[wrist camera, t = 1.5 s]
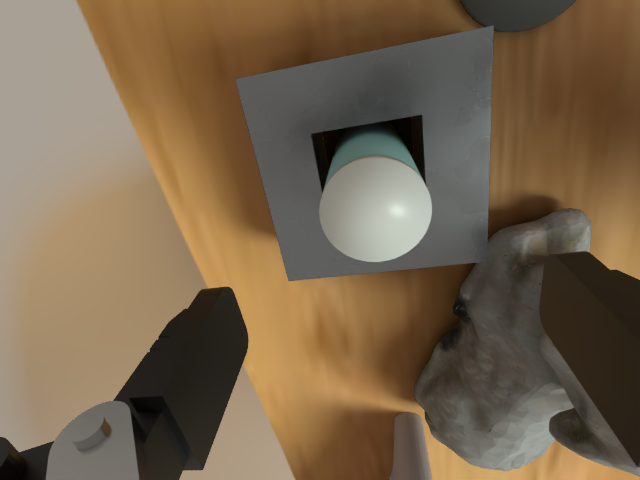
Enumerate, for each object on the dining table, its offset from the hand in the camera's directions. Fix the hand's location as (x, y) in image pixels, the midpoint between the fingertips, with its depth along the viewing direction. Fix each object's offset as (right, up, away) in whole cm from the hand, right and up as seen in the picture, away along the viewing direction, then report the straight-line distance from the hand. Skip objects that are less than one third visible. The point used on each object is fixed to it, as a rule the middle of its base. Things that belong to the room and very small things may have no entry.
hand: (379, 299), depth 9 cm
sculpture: (+12, -5, +20) cm, 24 cm away
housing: (+2, +7, +14) cm, 16 cm away
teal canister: (+2, +7, +14) cm, 16 cm away
